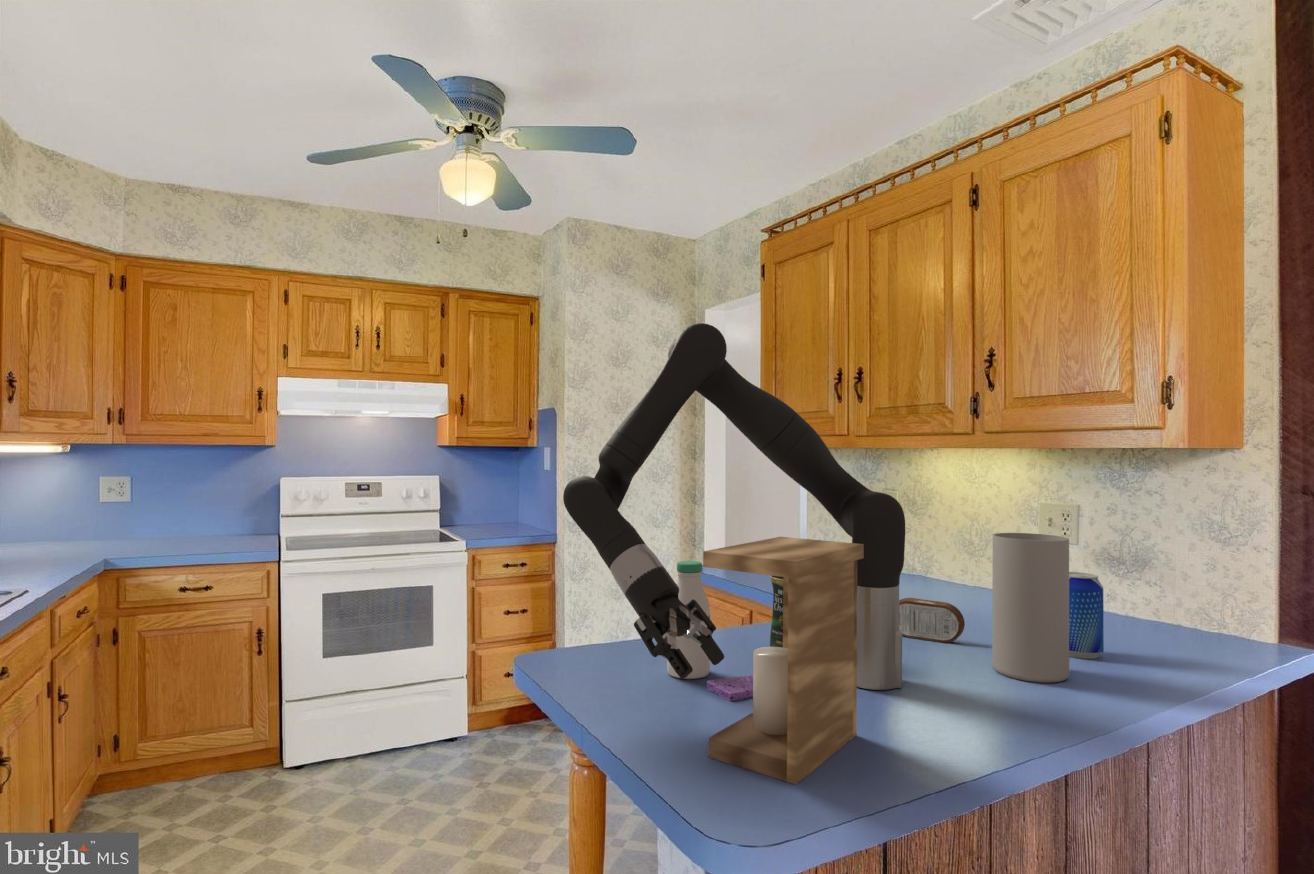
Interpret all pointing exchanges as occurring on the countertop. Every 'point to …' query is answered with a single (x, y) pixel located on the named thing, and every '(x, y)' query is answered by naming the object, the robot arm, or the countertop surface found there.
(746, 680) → the sponges
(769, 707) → the candle
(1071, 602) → the beer can
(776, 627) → the coffee jar
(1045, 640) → the cylinder vase
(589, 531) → the robot arm
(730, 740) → the wooden c-shaped stand
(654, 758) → the countertop surface
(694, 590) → the milk bottle
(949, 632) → the tin
